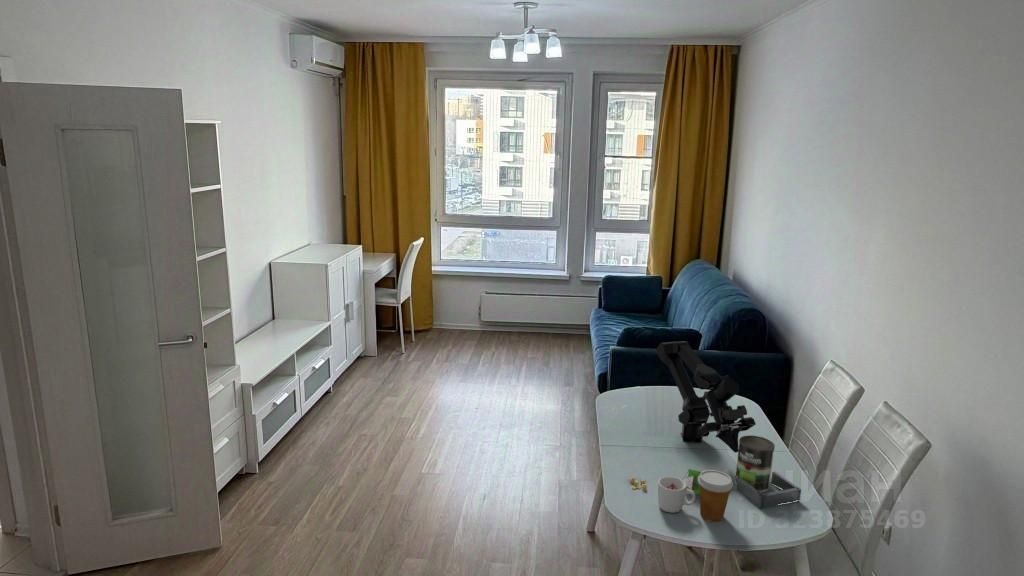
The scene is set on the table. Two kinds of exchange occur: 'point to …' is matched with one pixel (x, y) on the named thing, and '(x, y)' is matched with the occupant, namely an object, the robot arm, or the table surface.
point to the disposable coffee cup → (714, 494)
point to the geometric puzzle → (692, 481)
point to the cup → (673, 494)
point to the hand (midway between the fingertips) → (736, 452)
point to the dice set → (632, 480)
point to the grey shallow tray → (773, 498)
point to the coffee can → (755, 461)
